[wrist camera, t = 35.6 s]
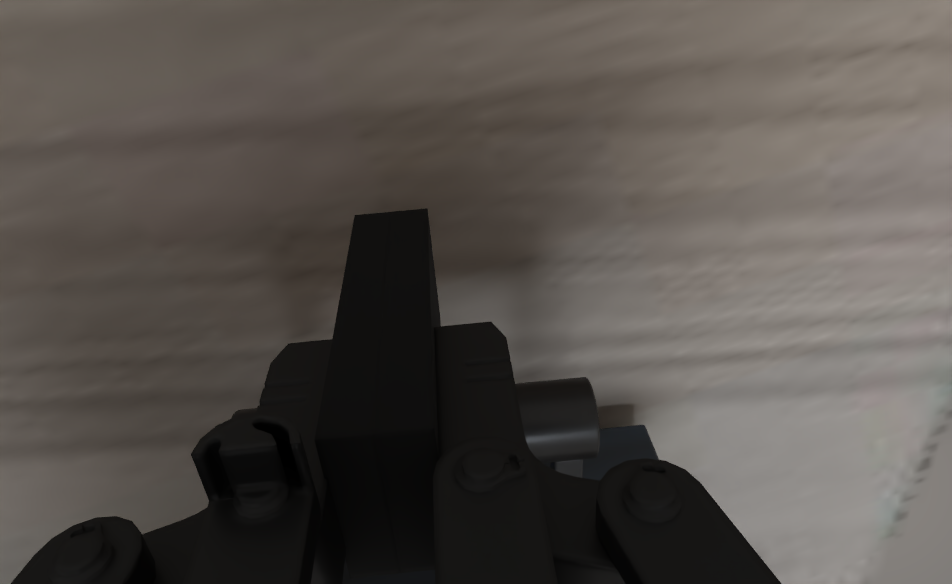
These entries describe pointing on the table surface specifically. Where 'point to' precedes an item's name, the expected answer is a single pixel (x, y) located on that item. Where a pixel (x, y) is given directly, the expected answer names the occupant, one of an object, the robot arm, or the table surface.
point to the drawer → (554, 444)
